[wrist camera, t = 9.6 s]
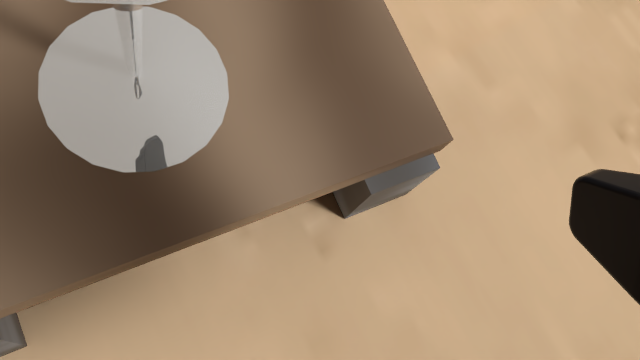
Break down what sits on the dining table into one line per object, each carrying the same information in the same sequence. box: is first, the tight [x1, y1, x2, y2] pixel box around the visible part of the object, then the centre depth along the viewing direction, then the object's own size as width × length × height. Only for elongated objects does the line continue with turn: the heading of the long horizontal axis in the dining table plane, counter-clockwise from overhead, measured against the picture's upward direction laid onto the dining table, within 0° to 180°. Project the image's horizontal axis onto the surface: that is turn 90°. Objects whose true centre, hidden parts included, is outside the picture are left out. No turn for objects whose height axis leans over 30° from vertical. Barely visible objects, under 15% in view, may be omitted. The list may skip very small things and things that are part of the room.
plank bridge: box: [0, 0, 453, 357], centre depth 19 cm, size 16×10×4 cm, turn 114°
